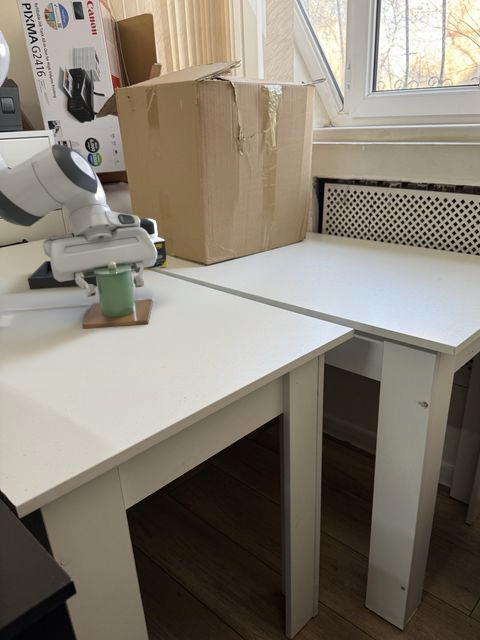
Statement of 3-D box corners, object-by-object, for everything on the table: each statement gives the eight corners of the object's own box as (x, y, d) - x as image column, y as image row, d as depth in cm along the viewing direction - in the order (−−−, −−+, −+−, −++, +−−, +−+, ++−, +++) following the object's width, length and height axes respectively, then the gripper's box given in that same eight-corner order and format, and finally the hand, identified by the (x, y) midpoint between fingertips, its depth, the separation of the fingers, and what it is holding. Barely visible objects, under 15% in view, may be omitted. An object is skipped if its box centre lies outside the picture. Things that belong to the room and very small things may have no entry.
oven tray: (30, 291, 116) (27, 278, 114) (47, 272, 129) (45, 261, 128) (107, 286, 117) (105, 273, 116) (116, 268, 131) (114, 256, 130)
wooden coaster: (82, 328, 94) (82, 324, 94) (94, 306, 105) (93, 303, 105) (148, 323, 96) (147, 320, 95) (152, 302, 106) (152, 299, 106)
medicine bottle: (142, 271, 128) (136, 223, 123) (131, 266, 133) (124, 219, 128) (168, 266, 131) (162, 219, 126) (156, 261, 137) (150, 215, 132)
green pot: (98, 318, 97) (88, 267, 92) (103, 306, 103) (95, 257, 99) (135, 316, 97) (127, 265, 93) (139, 303, 104) (132, 255, 99)
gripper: (39, 228, 94) (60, 292, 90) (145, 215, 103) (168, 272, 100) (40, 247, 99) (60, 308, 96) (141, 233, 108) (162, 288, 105)
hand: (116, 290), depth 98 cm, fingers open, 8 cm apart
